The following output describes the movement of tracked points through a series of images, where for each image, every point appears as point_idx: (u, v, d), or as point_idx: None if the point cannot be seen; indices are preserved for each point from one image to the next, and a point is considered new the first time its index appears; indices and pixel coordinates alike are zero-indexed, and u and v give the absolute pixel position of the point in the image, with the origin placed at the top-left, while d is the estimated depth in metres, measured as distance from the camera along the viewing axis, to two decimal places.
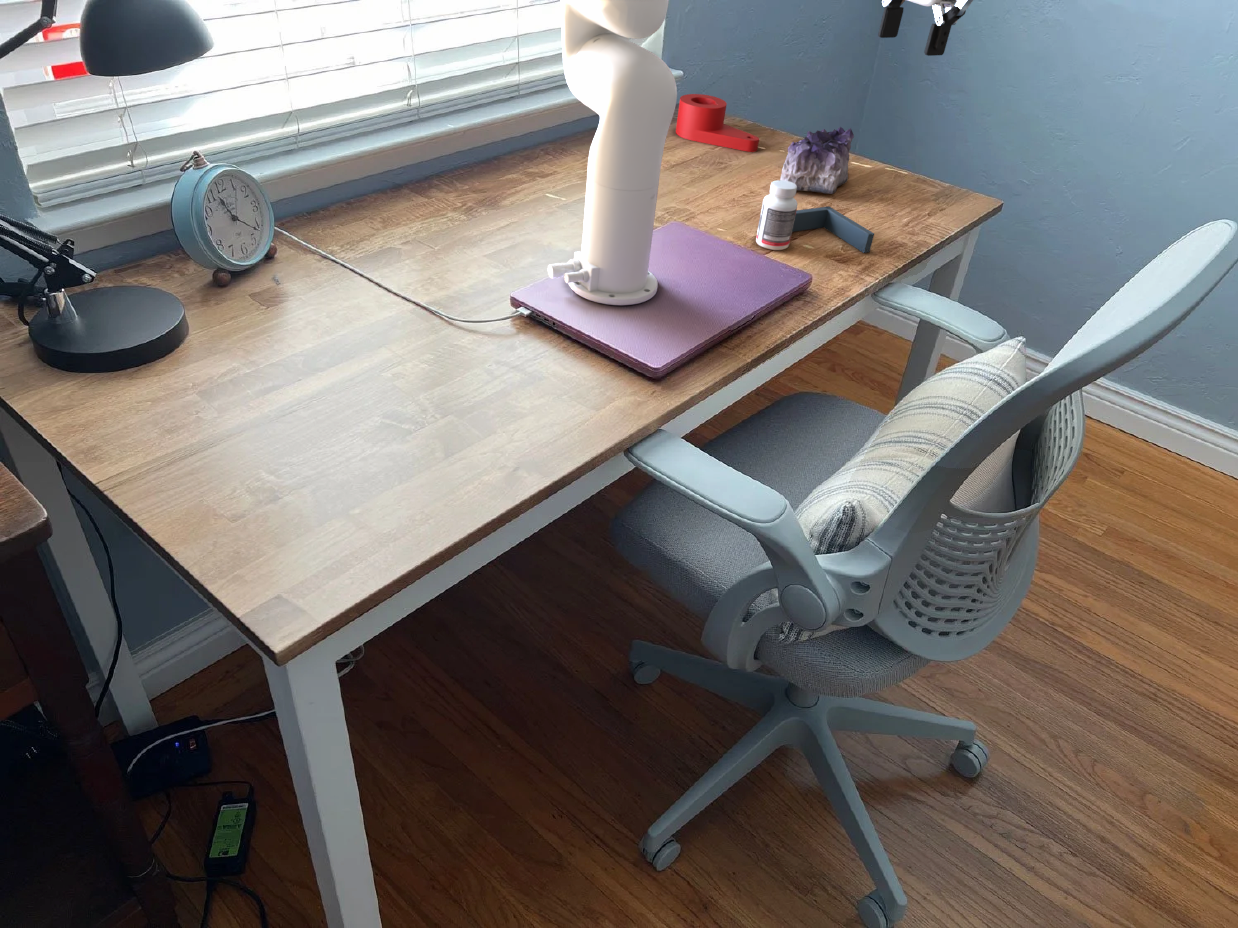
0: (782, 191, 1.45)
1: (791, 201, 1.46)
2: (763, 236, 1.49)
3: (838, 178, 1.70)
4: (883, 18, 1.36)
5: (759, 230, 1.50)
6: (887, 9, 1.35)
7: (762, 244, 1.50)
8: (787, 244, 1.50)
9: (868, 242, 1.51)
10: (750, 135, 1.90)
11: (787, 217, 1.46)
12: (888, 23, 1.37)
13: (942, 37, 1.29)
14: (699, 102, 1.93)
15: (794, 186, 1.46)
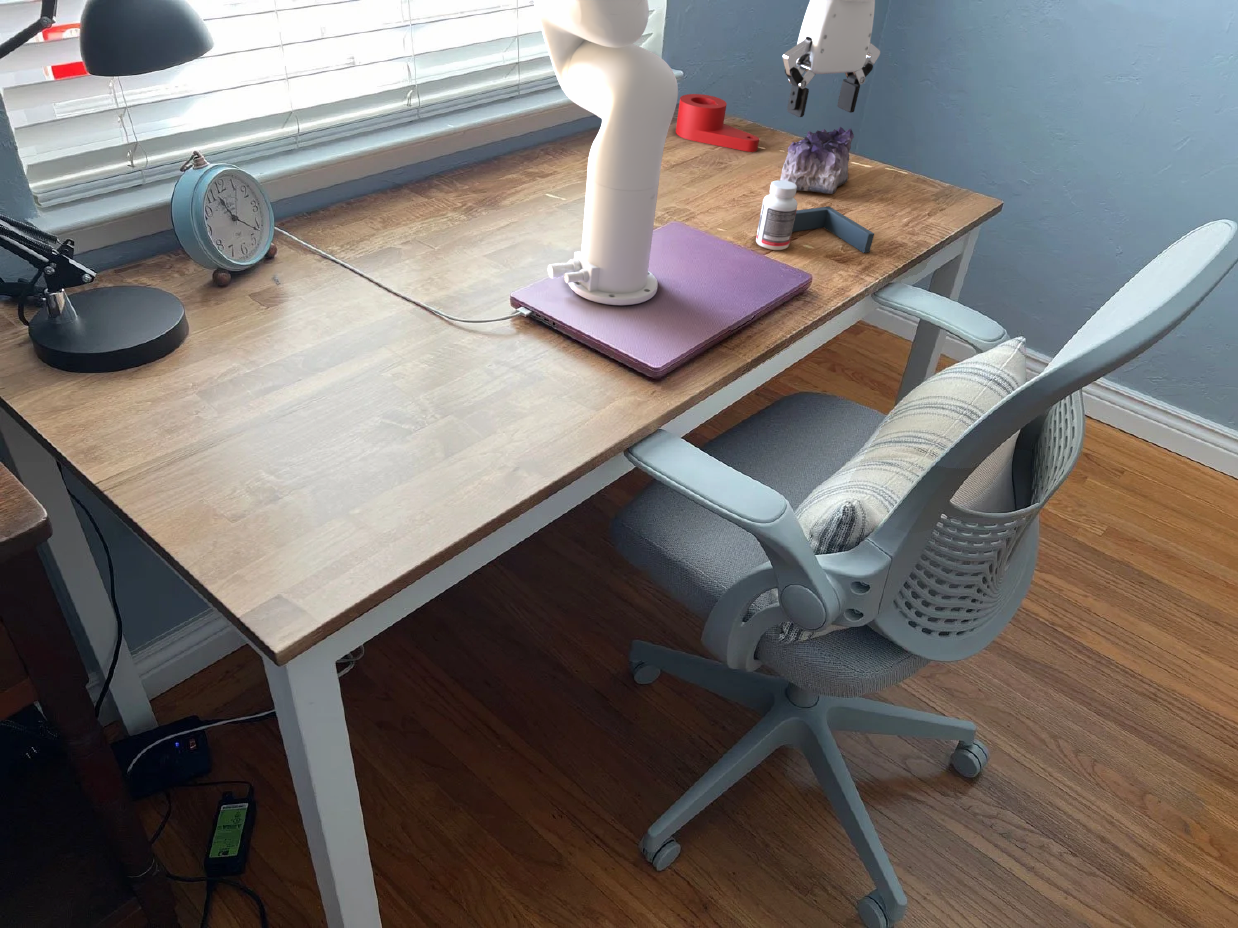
0: (782, 191, 1.45)
1: (791, 201, 1.46)
2: (763, 236, 1.49)
3: (838, 178, 1.70)
4: None
5: (759, 230, 1.50)
6: (843, 80, 1.41)
7: (762, 244, 1.50)
8: (787, 244, 1.50)
9: (868, 242, 1.51)
10: (750, 135, 1.90)
11: (787, 217, 1.46)
12: (843, 95, 1.41)
13: (792, 96, 1.36)
14: (699, 102, 1.93)
15: (794, 186, 1.46)
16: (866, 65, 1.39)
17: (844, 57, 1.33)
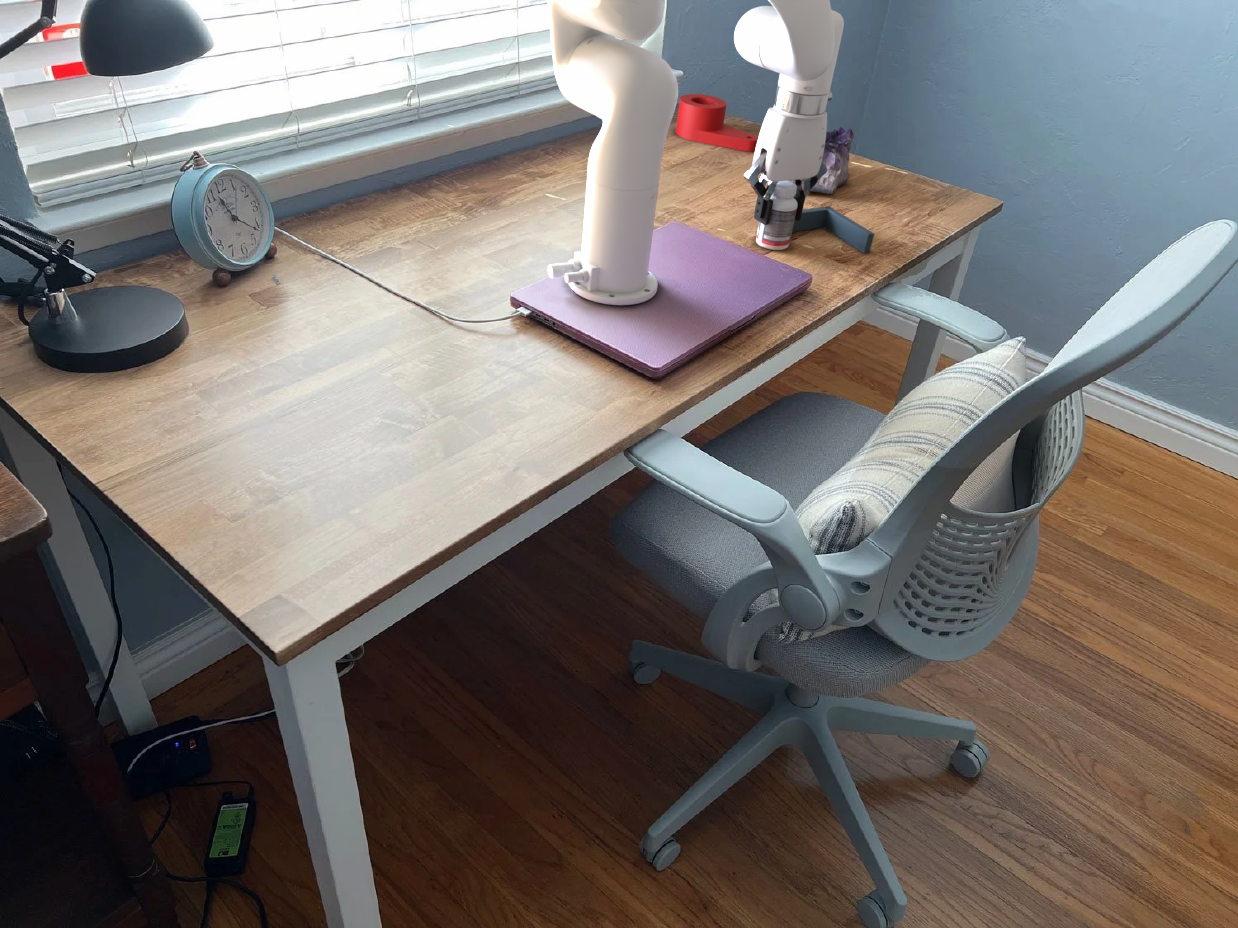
0: (783, 191, 1.45)
1: (791, 201, 1.46)
2: (763, 236, 1.49)
3: (838, 178, 1.70)
4: None
5: (759, 230, 1.50)
6: None
7: (762, 244, 1.50)
8: (787, 244, 1.50)
9: (868, 242, 1.51)
10: (750, 135, 1.90)
11: (787, 217, 1.46)
12: None
13: (758, 206, 1.46)
14: (699, 102, 1.93)
15: (794, 186, 1.46)
16: (812, 177, 1.47)
17: (798, 166, 1.42)
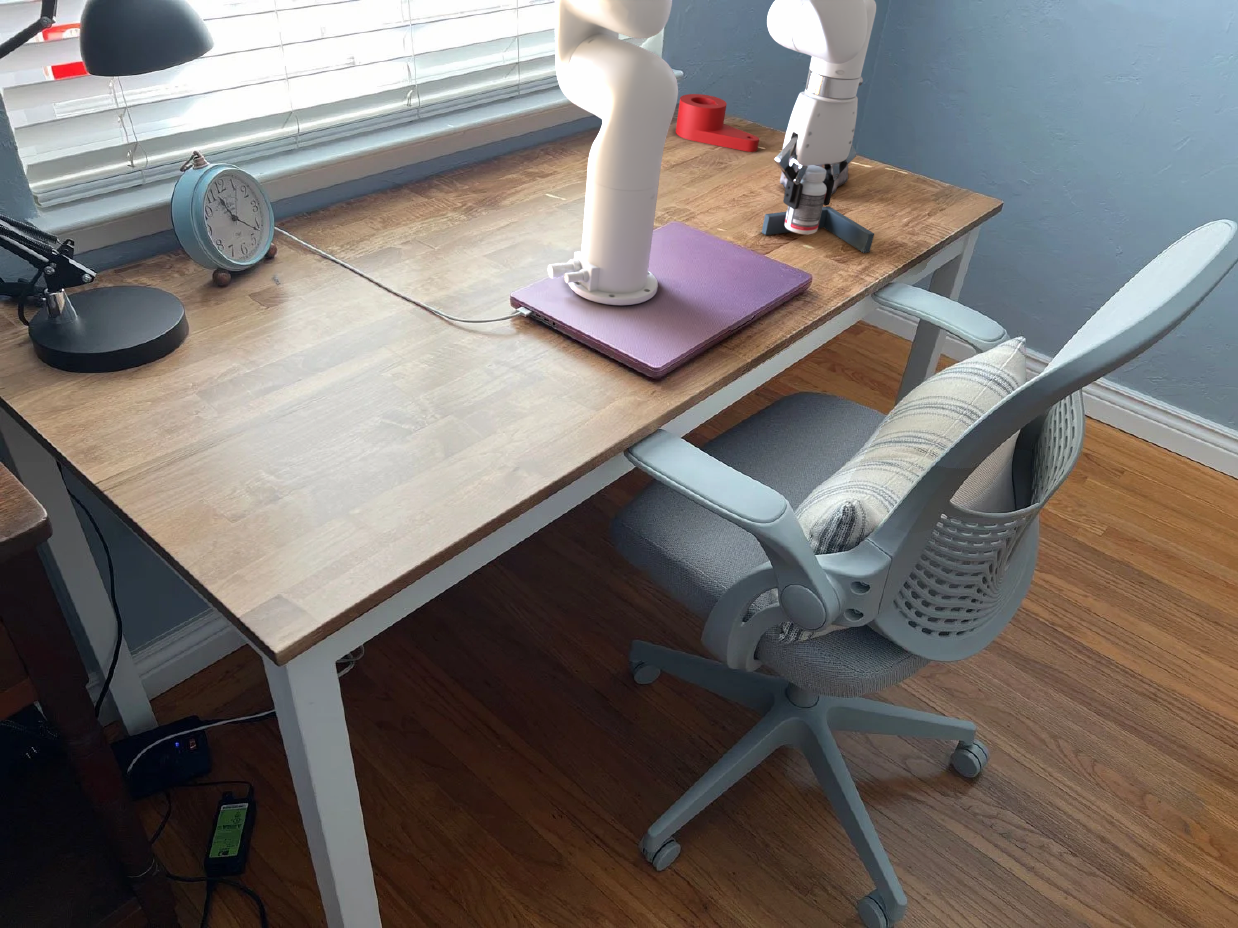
0: (812, 175, 1.46)
1: (820, 185, 1.47)
2: (792, 220, 1.50)
3: None
4: None
5: (788, 214, 1.51)
6: None
7: (791, 228, 1.51)
8: (816, 228, 1.51)
9: (868, 242, 1.51)
10: (750, 135, 1.90)
11: (816, 201, 1.48)
12: None
13: (787, 190, 1.47)
14: (699, 102, 1.93)
15: (824, 170, 1.47)
16: (841, 162, 1.48)
17: (828, 150, 1.43)
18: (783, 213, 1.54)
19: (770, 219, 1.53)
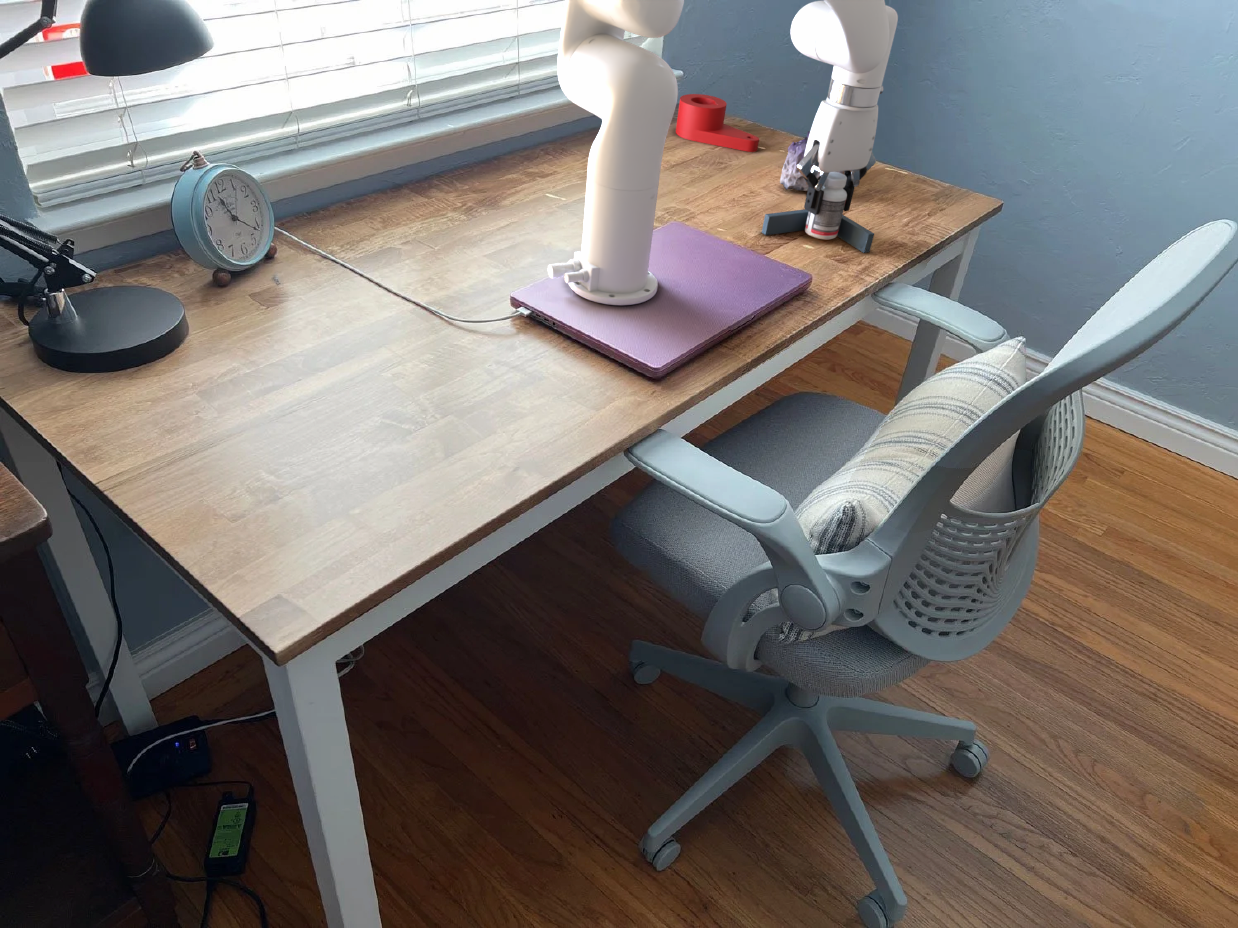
0: (833, 182, 1.49)
1: (841, 191, 1.50)
2: (812, 226, 1.53)
3: None
4: None
5: (809, 220, 1.54)
6: None
7: (811, 234, 1.54)
8: (836, 234, 1.54)
9: (868, 242, 1.51)
10: (750, 135, 1.90)
11: (837, 207, 1.51)
12: None
13: (809, 196, 1.50)
14: (699, 102, 1.93)
15: (844, 177, 1.50)
16: (861, 168, 1.51)
17: (849, 157, 1.46)
18: (783, 213, 1.54)
19: (770, 219, 1.53)
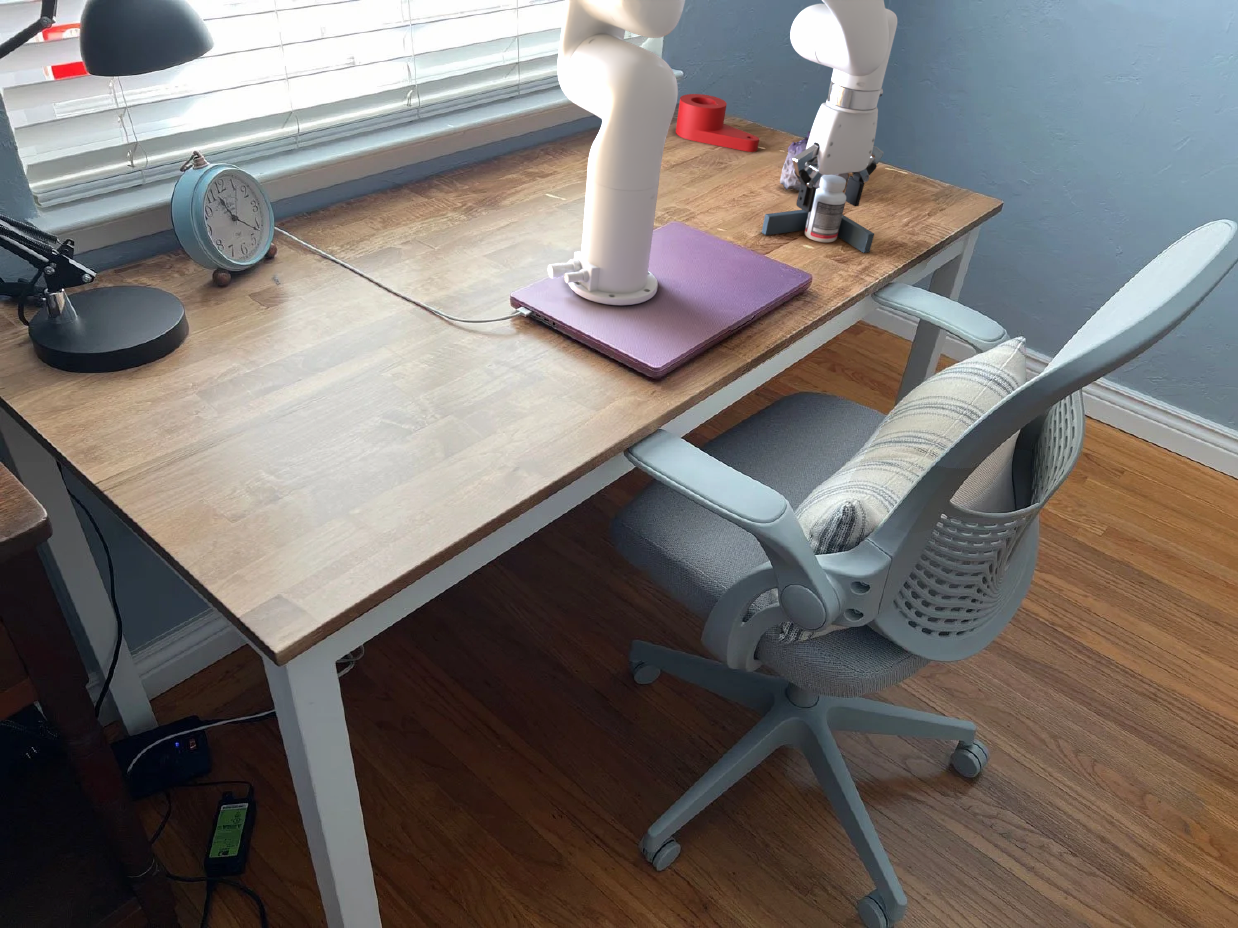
0: (833, 185, 1.49)
1: (840, 194, 1.51)
2: (812, 229, 1.53)
3: None
4: None
5: (808, 223, 1.54)
6: (849, 177, 1.54)
7: (811, 237, 1.54)
8: (835, 237, 1.54)
9: (868, 242, 1.51)
10: (750, 135, 1.90)
11: (836, 210, 1.51)
12: (848, 190, 1.54)
13: (801, 193, 1.49)
14: (699, 102, 1.93)
15: (843, 180, 1.50)
16: (870, 165, 1.52)
17: (849, 160, 1.47)
18: (783, 213, 1.54)
19: (770, 219, 1.53)
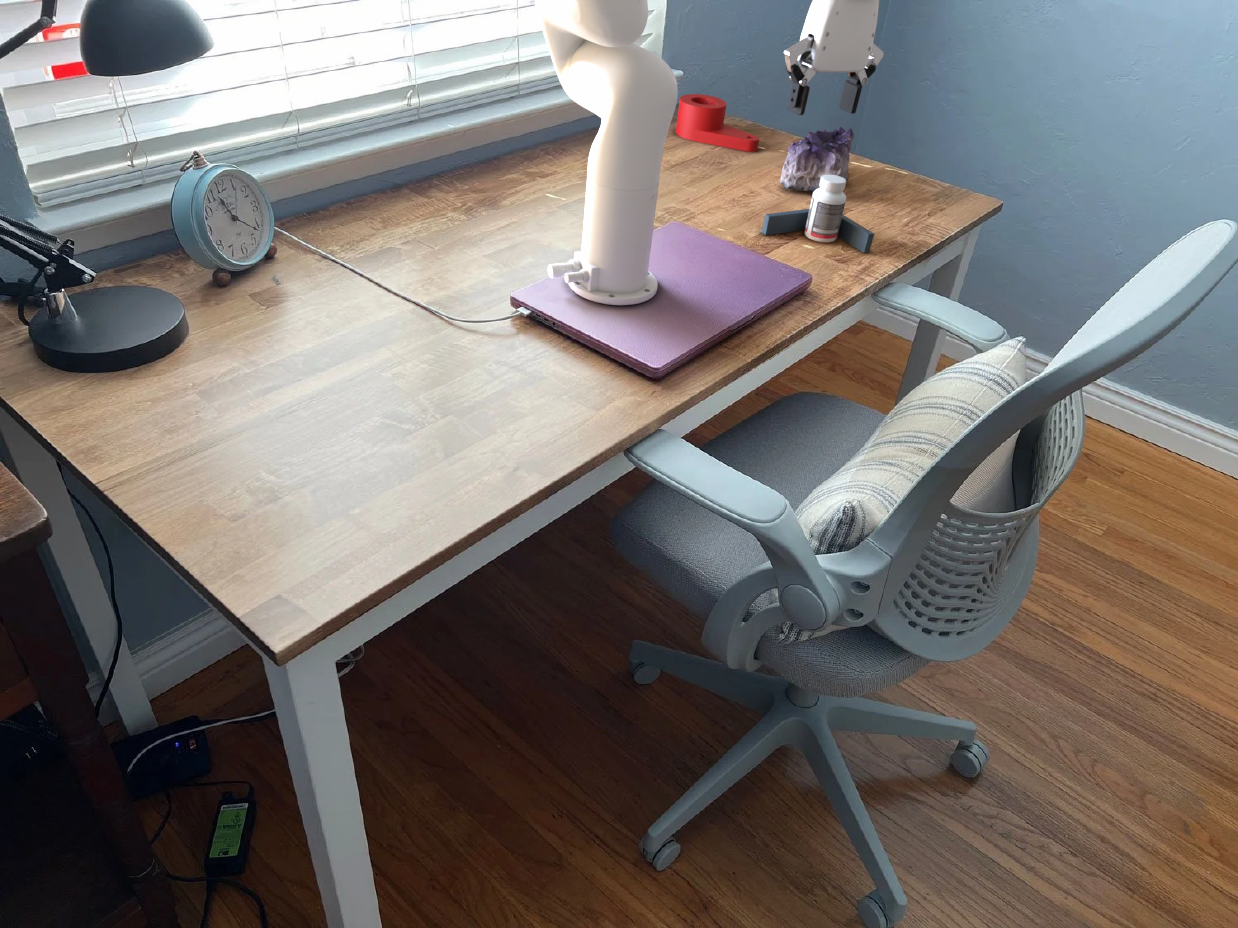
0: (833, 185, 1.49)
1: (840, 194, 1.51)
2: (812, 229, 1.53)
3: None
4: None
5: (808, 223, 1.54)
6: (846, 81, 1.39)
7: (811, 237, 1.54)
8: (835, 237, 1.54)
9: (868, 242, 1.51)
10: (750, 135, 1.90)
11: (836, 210, 1.51)
12: (845, 95, 1.40)
13: (793, 94, 1.35)
14: (699, 102, 1.93)
15: (843, 180, 1.50)
16: (869, 66, 1.38)
17: (846, 56, 1.32)
18: (783, 213, 1.54)
19: (770, 219, 1.53)
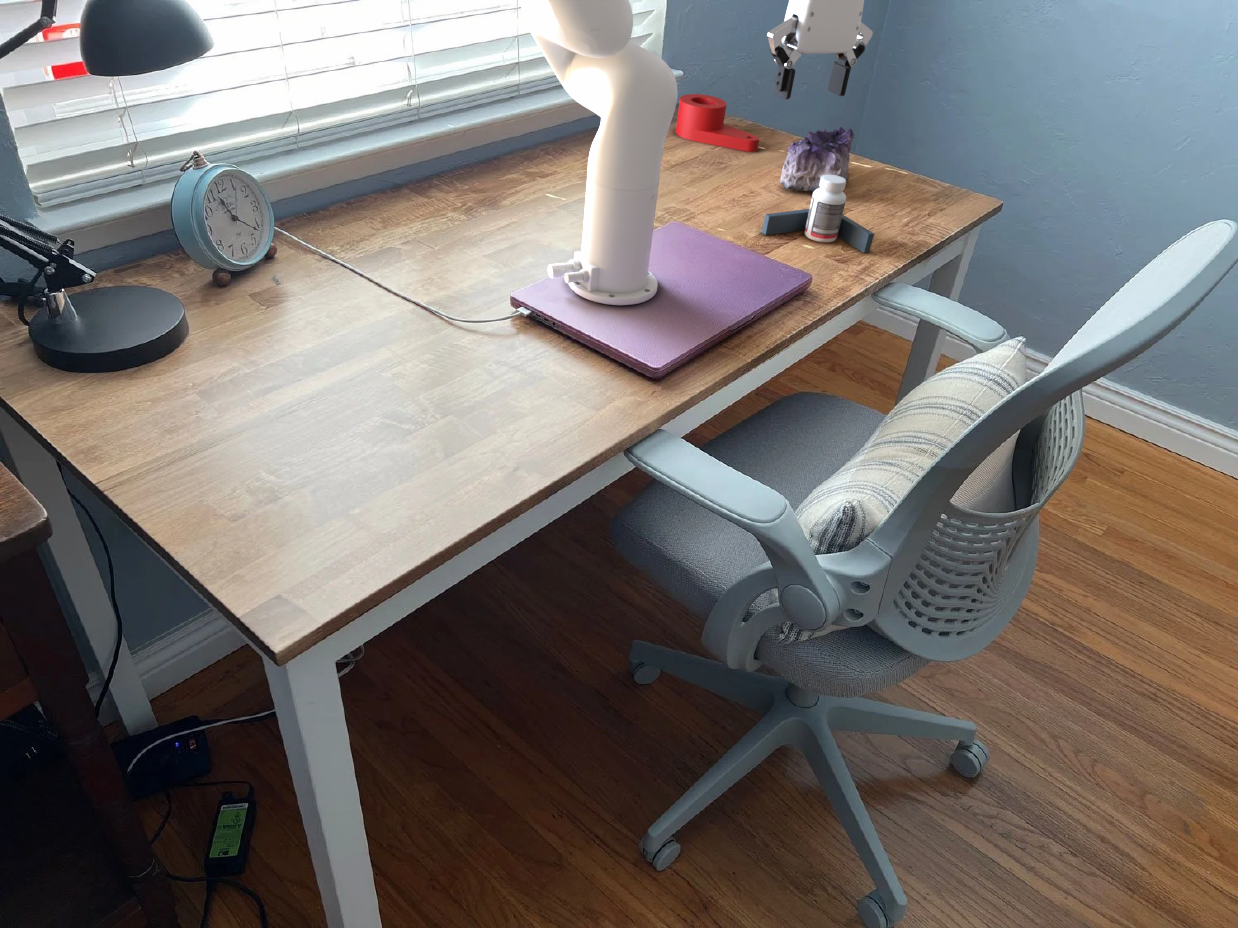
0: (833, 185, 1.49)
1: (840, 194, 1.51)
2: (812, 229, 1.53)
3: None
4: None
5: (808, 223, 1.54)
6: (834, 62, 1.35)
7: (811, 237, 1.54)
8: (835, 237, 1.54)
9: (868, 242, 1.51)
10: (750, 135, 1.90)
11: (836, 210, 1.51)
12: (833, 77, 1.35)
13: (778, 77, 1.30)
14: (699, 102, 1.93)
15: (843, 180, 1.50)
16: (858, 46, 1.33)
17: (833, 36, 1.27)
18: (783, 213, 1.54)
19: (770, 219, 1.53)
